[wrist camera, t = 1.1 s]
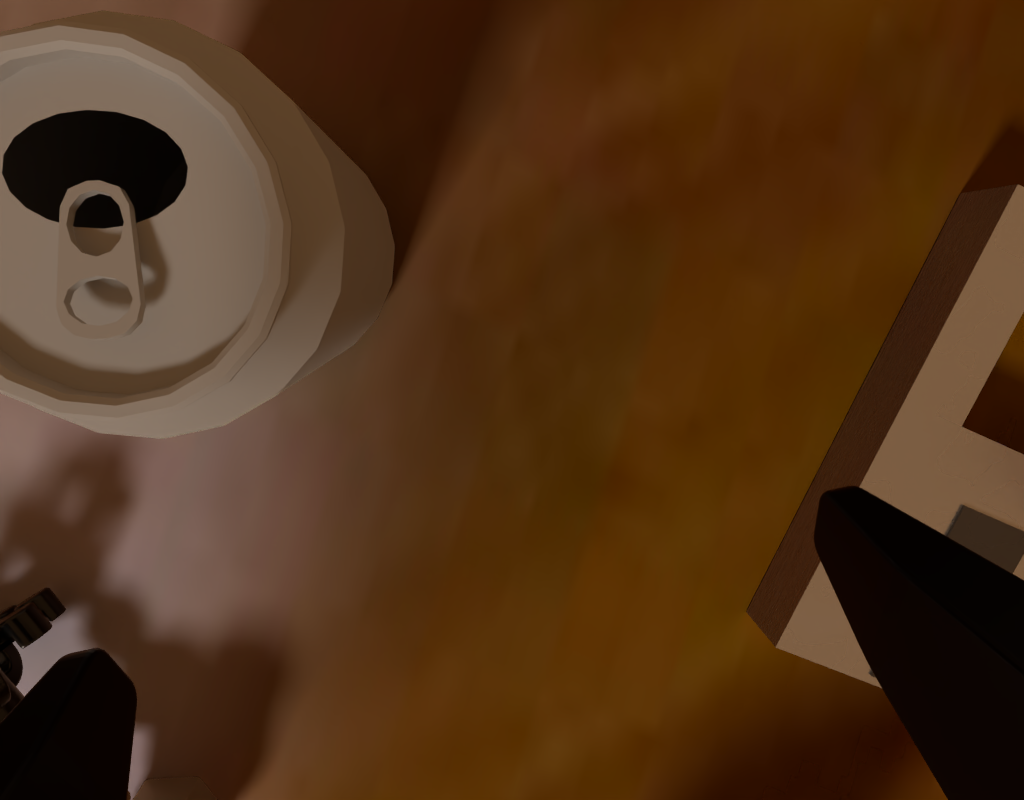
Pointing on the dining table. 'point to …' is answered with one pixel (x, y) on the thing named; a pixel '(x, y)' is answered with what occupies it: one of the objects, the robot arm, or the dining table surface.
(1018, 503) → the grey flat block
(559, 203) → the dining table surface
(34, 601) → the valve
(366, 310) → the can
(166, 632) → the dining table surface
